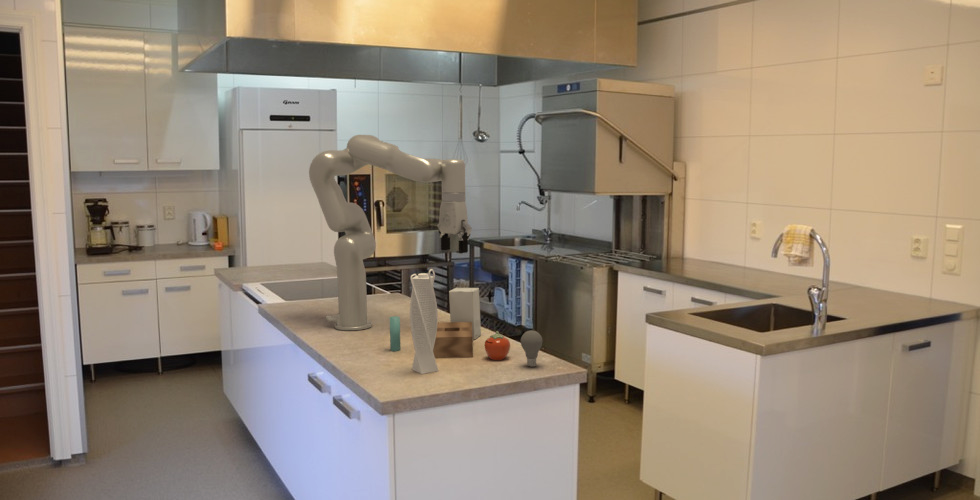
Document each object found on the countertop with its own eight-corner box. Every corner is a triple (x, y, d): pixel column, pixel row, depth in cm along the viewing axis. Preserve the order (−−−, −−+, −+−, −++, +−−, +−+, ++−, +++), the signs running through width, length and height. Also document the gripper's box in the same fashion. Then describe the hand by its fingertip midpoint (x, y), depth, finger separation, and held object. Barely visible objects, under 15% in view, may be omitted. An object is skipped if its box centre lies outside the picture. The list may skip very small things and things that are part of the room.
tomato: (479, 357, 227) (479, 330, 226) (502, 354, 230) (501, 327, 229) (492, 363, 220) (492, 335, 219) (515, 359, 224) (515, 332, 223)
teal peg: (390, 351, 235) (389, 318, 234) (390, 349, 238) (389, 316, 237) (400, 351, 235) (399, 318, 234) (400, 348, 238) (400, 316, 237)
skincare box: (481, 335, 254) (480, 287, 252) (474, 340, 247) (473, 291, 246) (457, 334, 256) (456, 286, 254) (449, 338, 250) (448, 290, 248)
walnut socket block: (431, 358, 227) (430, 337, 226) (433, 341, 247) (433, 322, 246) (472, 357, 227) (472, 336, 226) (472, 340, 247) (471, 321, 246)
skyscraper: (444, 371, 213) (442, 268, 209) (420, 376, 209) (418, 271, 205) (429, 365, 219) (427, 265, 216) (406, 369, 215) (403, 267, 211)
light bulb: (519, 363, 220) (519, 328, 218) (540, 363, 220) (540, 327, 219) (522, 369, 214) (522, 333, 212) (544, 368, 214) (544, 332, 213)
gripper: (428, 197, 257) (429, 249, 259) (460, 199, 243) (460, 255, 245) (447, 196, 261) (448, 247, 263) (479, 198, 248) (480, 252, 250)
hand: (454, 251), depth 254 cm, fingers open, 9 cm apart
